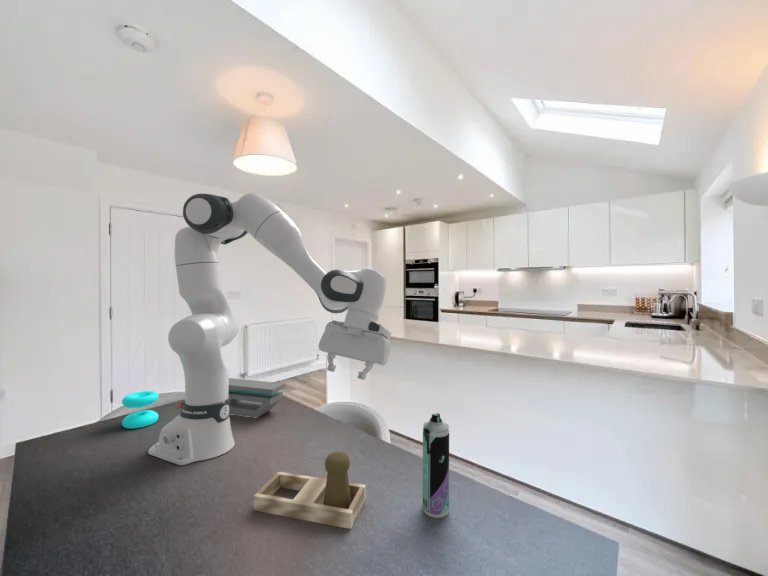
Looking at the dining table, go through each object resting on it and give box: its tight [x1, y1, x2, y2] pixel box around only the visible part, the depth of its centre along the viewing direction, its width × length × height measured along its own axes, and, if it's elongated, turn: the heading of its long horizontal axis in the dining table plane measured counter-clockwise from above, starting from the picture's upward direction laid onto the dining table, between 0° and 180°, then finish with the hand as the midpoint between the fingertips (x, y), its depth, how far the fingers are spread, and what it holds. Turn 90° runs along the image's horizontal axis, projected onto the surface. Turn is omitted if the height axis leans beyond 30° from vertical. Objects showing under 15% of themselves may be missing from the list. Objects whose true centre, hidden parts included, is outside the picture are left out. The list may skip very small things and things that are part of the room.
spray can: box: [422, 412, 450, 519], centre depth 70 cm, size 6×6×20 cm
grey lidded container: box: [229, 377, 286, 418], centre depth 123 cm, size 25×8×11 cm, turn 74°
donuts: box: [121, 390, 160, 430], centre depth 113 cm, size 10×10×10 cm
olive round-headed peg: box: [323, 451, 351, 509], centre depth 70 cm, size 6×6×11 cm
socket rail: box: [253, 471, 367, 530], centre depth 71 cm, size 22×10×3 cm, turn 76°
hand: (345, 375), depth 88 cm, fingers open, 8 cm apart
